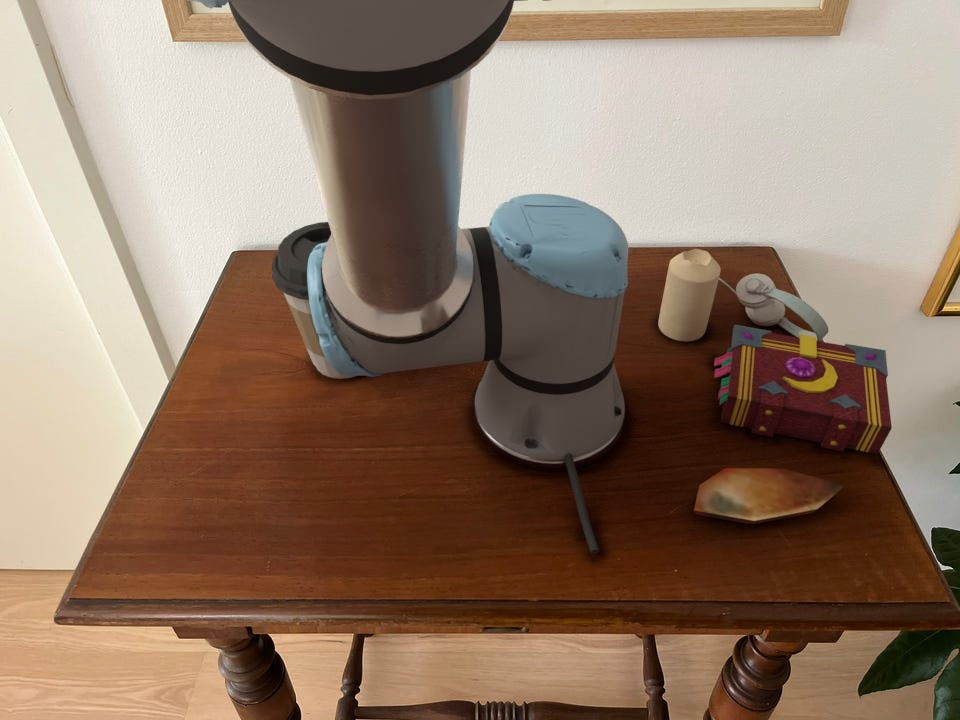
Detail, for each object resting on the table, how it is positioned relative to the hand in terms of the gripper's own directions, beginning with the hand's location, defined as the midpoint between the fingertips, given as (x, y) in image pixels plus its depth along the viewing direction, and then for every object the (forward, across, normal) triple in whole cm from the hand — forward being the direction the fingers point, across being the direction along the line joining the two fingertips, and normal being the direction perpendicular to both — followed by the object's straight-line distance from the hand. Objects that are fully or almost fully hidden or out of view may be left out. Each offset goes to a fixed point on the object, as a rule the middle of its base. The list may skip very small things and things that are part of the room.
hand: (395, 242), depth 88 cm
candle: (+7, +34, -10) cm, 36 cm away
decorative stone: (+4, +36, -35) cm, 50 cm away
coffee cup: (+7, -5, -14) cm, 16 cm away
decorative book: (+6, +42, -22) cm, 48 cm away
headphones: (+5, +36, +1) cm, 37 cm away
